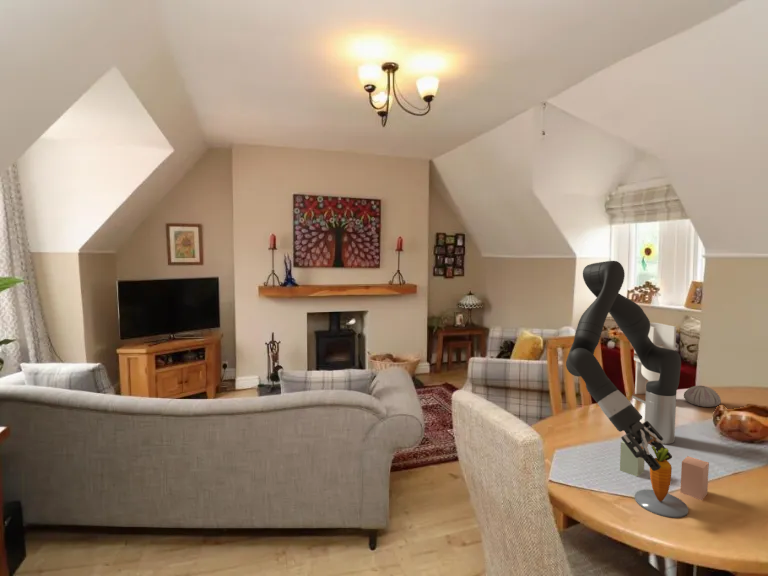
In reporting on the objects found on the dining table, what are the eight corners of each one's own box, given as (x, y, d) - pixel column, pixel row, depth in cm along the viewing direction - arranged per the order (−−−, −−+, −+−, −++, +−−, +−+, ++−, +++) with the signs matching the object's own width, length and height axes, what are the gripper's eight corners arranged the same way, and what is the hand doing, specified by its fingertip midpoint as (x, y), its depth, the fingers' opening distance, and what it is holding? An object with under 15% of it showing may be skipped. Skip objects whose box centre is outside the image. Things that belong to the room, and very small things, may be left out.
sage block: (626, 465, 135) (627, 437, 134) (643, 471, 131) (645, 443, 130) (619, 470, 132) (620, 442, 131) (637, 476, 128) (638, 447, 127)
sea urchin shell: (688, 407, 185) (689, 389, 184) (679, 397, 198) (680, 380, 197) (725, 410, 180) (726, 392, 180) (713, 400, 193) (714, 383, 192)
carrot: (644, 497, 116) (645, 443, 115) (661, 495, 116) (662, 442, 116) (658, 507, 111) (658, 451, 110) (675, 505, 112) (676, 450, 111)
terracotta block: (686, 486, 122) (687, 456, 122) (707, 493, 118) (708, 462, 118) (680, 492, 119) (681, 461, 118) (701, 500, 115) (703, 468, 115)
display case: (632, 397, 197) (635, 323, 194) (653, 396, 198) (656, 322, 196) (650, 406, 186) (653, 327, 183) (672, 405, 187) (676, 326, 184)
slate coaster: (644, 486, 122) (644, 484, 122) (694, 505, 113) (694, 503, 113) (627, 502, 115) (627, 500, 115) (679, 523, 105) (679, 521, 105)
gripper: (618, 409, 114) (666, 467, 106) (639, 397, 123) (684, 450, 115) (597, 423, 118) (641, 479, 110) (619, 410, 127) (661, 461, 119)
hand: (663, 464), depth 113 cm, fingers open, 8 cm apart
